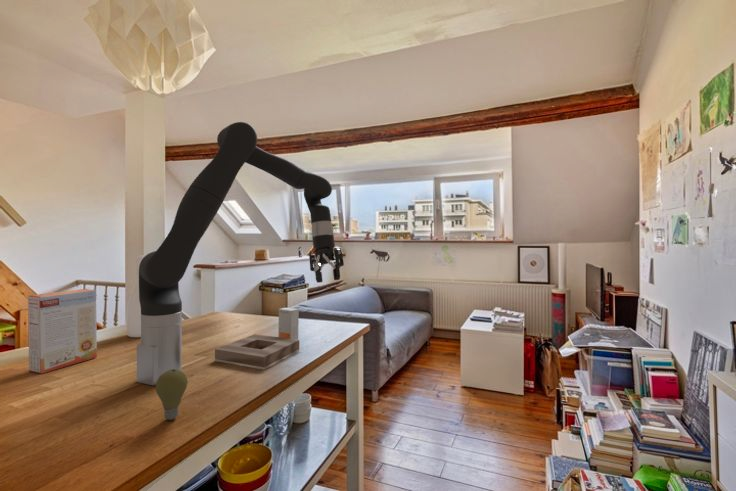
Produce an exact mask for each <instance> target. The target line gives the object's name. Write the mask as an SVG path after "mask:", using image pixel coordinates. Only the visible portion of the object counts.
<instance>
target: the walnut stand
mask: <svg viewBox="0 0 736 491" xmlns="http://www.w3.org/2000/svg"><path fill="white" fill-rule="evenodd" d="M298 352H300V339H298V340H295V339H288V338H280V337H278V336H271V335H264V334H256V333H254V334H251V335H249V336H246V337H244V338H240V339H238V340H235V341H233V342H230V343H228V344H225V345H222V346H219V347H216V348H215V349H214V362H217V363H218V362H220V363H224V364H225V363H226V364H229V365H230V364H231V365H236V366H241V367H247V368H252V369H257V370H263V371H264V370H266V369H268V368H270V367H273V366H274V365H276V364H278V363H279V362H281V361H283V360H286V359H287V358H289V357H290V356H293V355H294V354H296V353H298Z"/></svg>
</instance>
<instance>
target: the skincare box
mask: <svg viewBox="0 0 736 491" xmlns="http://www.w3.org/2000/svg"><path fill="white" fill-rule="evenodd" d="M299 313H300V311H299V308H295V307H294V308H293V307H282V308H278V327H277V328H278V333H277V334H278V336H277V337H280V338H288V339H295V340H299V321H300V320H299V317H300V316H299Z"/></svg>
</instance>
